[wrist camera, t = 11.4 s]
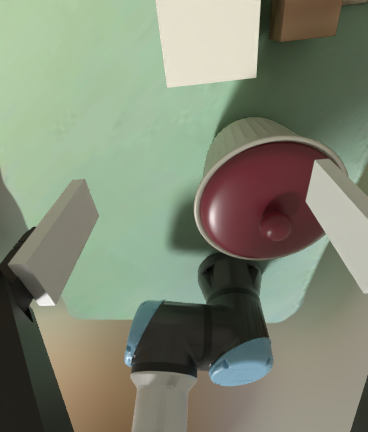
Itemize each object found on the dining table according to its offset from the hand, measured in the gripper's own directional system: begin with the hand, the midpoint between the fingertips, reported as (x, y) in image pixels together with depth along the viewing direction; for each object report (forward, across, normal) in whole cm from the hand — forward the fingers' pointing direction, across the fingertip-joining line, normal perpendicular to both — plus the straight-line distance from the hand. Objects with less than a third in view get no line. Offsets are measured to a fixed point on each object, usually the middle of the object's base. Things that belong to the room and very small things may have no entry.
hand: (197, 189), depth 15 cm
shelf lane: (+29, -2, -8) cm, 30 cm away
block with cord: (+29, -20, -8) cm, 36 cm away
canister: (+29, -8, +11) cm, 32 cm away
